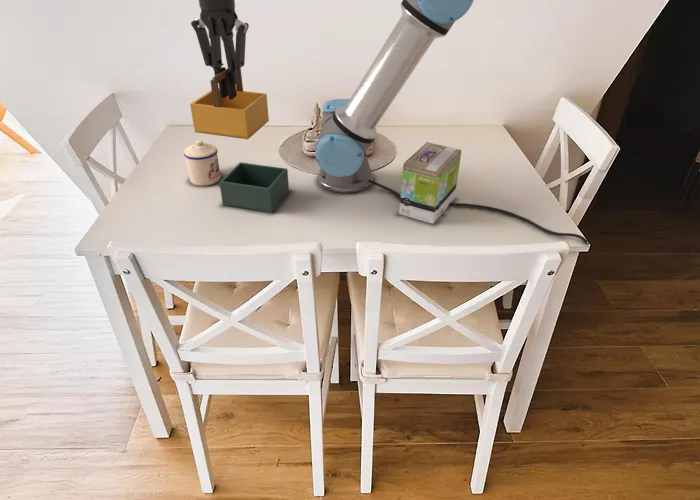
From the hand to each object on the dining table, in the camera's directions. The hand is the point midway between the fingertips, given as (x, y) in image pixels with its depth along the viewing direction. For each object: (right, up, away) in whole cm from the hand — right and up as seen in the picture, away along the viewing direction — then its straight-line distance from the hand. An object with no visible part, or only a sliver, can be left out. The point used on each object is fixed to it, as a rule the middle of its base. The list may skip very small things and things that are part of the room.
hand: (228, 96), depth 128 cm
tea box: (+49, -25, +14) cm, 57 cm away
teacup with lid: (-12, -15, +28) cm, 34 cm away
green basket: (+4, -22, +17) cm, 29 cm away
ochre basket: (0, -6, +4) cm, 7 cm away
